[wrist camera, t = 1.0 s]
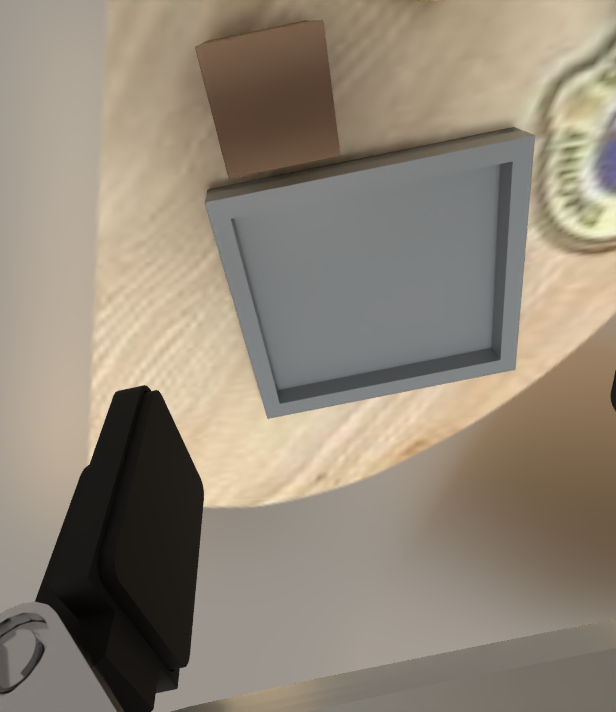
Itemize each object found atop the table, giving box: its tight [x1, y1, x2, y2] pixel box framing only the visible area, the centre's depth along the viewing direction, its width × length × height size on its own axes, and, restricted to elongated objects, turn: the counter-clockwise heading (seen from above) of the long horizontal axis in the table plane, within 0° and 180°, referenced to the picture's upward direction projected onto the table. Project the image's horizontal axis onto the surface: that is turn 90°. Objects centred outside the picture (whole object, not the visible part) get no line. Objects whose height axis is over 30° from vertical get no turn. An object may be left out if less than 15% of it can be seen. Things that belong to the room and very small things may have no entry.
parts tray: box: [205, 127, 535, 419], centre depth 29 cm, size 14×16×2 cm
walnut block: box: [195, 20, 340, 179], centre depth 21 cm, size 4×4×6 cm
